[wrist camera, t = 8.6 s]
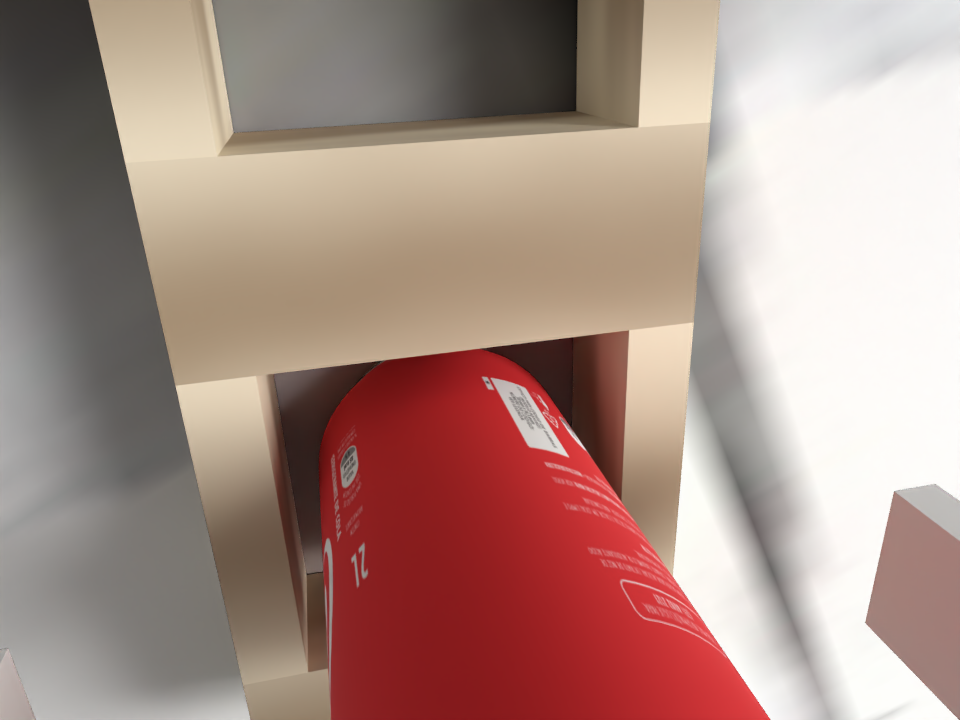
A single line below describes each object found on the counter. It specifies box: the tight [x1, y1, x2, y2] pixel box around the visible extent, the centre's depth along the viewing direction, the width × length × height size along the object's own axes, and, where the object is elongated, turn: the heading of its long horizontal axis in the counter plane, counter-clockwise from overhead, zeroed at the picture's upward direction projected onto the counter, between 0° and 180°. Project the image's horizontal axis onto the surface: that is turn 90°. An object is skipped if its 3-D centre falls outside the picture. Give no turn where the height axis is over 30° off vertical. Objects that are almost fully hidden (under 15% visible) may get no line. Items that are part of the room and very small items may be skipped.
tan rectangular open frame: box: [89, 0, 720, 720], centre depth 13 cm, size 22×9×3 cm, turn 2°
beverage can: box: [318, 349, 770, 720], centre depth 11 cm, size 5×5×12 cm
